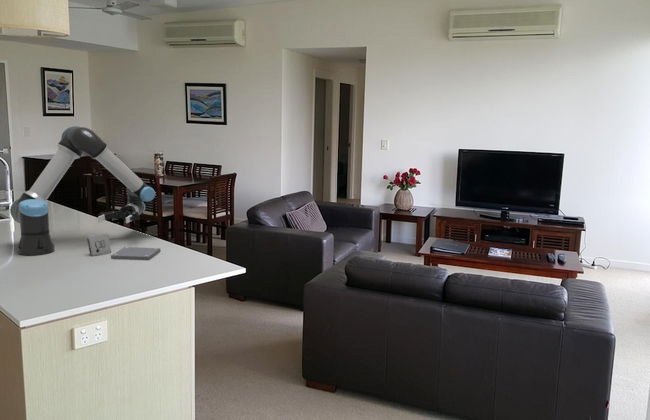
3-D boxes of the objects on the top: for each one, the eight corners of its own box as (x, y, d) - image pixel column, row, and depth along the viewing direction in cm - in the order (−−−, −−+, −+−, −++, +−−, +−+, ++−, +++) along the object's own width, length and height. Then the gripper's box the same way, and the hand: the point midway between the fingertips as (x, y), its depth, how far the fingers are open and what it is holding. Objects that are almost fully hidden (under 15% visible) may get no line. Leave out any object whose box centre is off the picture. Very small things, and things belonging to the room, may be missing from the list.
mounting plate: (111, 258, 248) (110, 254, 247) (124, 250, 263) (124, 246, 263) (148, 260, 247) (148, 256, 247) (160, 251, 263) (160, 247, 263)
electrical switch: (92, 256, 251) (90, 236, 250) (86, 255, 254) (84, 235, 253) (111, 253, 258) (110, 233, 257) (105, 252, 261) (104, 232, 260)
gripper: (152, 219, 290) (138, 228, 269) (105, 218, 290) (87, 227, 269) (152, 205, 288) (138, 213, 267) (104, 204, 289) (86, 211, 268)
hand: (112, 220), depth 268 cm, fingers open, 13 cm apart
